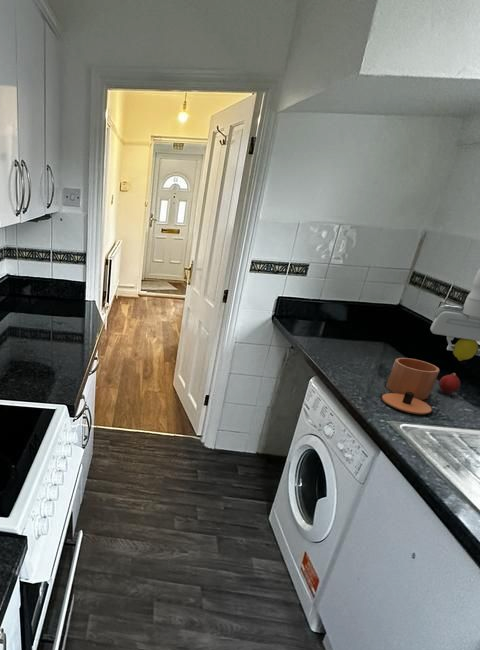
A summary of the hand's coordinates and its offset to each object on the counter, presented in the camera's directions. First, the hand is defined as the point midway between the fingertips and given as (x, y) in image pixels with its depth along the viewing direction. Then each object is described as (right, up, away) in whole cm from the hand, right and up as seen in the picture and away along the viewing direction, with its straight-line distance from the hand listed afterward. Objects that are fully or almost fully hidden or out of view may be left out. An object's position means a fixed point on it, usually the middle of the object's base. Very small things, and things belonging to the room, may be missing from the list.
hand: (463, 352), depth 129 cm
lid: (-11, -17, +9) cm, 22 cm away
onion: (+11, -14, +20) cm, 27 cm away
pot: (-3, -13, +20) cm, 24 cm away
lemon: (0, -3, +1) cm, 3 cm away
